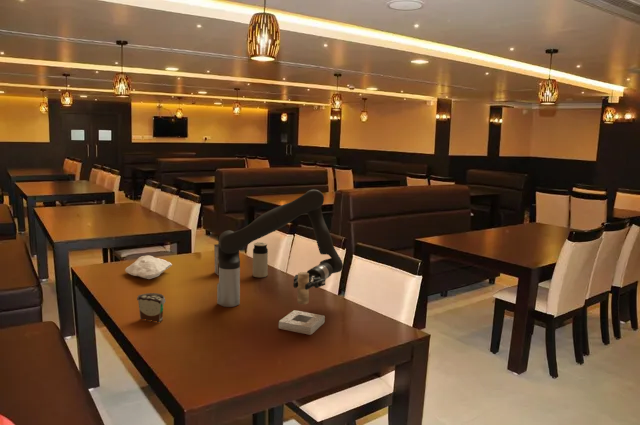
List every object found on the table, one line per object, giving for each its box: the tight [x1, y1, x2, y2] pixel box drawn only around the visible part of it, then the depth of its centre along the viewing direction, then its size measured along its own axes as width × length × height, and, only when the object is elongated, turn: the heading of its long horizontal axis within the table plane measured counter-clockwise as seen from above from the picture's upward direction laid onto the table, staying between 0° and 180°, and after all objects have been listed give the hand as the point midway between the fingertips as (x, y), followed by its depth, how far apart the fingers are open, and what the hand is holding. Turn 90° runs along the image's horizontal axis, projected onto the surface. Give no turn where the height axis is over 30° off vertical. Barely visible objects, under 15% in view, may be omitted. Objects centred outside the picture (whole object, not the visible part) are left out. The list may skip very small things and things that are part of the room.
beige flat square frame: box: [278, 309, 326, 336], centre depth 193 cm, size 14×14×3 cm
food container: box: [136, 292, 166, 323], centre depth 195 cm, size 12×6×10 cm, turn 71°
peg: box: [297, 271, 310, 305], centre depth 191 cm, size 4×4×12 cm
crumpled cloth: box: [124, 255, 173, 280], centre depth 255 cm, size 24×35×9 cm
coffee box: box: [213, 243, 219, 276], centre depth 263 cm, size 9×6×16 cm
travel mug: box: [252, 241, 269, 278], centre depth 259 cm, size 8×8×18 cm
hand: (300, 286), depth 188 cm, fingers closed on peg, 4 cm apart
